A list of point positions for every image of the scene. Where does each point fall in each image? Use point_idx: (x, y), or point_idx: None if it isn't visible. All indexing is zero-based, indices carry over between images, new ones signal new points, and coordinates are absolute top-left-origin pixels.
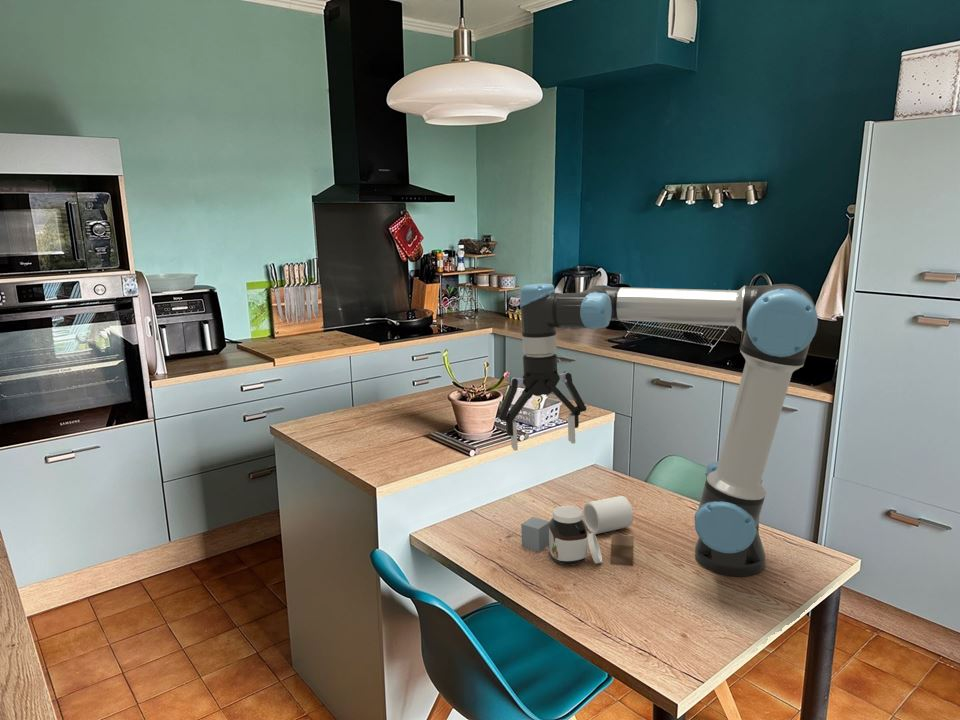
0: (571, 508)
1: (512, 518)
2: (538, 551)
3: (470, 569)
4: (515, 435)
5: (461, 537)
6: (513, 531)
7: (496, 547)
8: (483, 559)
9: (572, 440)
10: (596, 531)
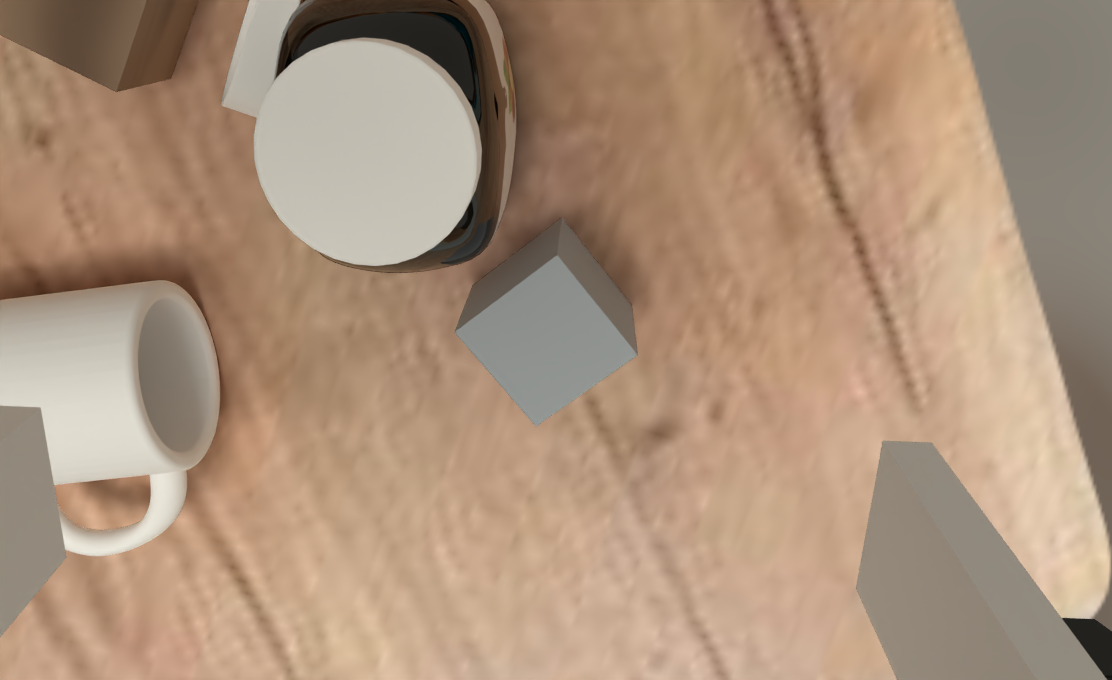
0: (321, 200)
1: (575, 607)
2: (563, 220)
3: (989, 145)
4: (999, 578)
5: None
6: (617, 476)
7: (766, 337)
8: (881, 231)
9: (9, 429)
10: (185, 296)
